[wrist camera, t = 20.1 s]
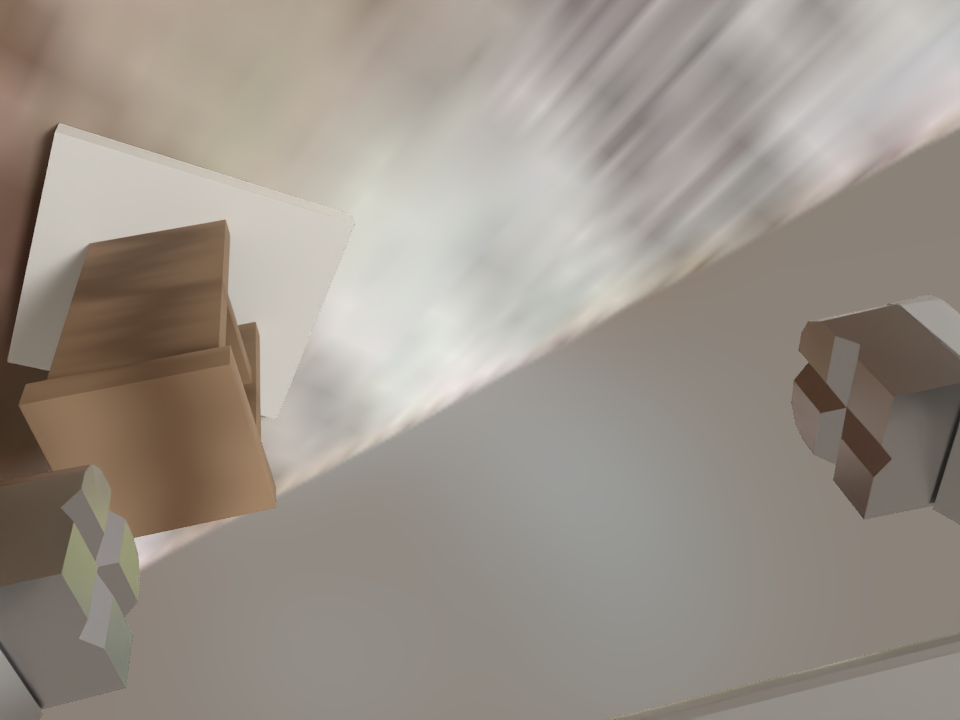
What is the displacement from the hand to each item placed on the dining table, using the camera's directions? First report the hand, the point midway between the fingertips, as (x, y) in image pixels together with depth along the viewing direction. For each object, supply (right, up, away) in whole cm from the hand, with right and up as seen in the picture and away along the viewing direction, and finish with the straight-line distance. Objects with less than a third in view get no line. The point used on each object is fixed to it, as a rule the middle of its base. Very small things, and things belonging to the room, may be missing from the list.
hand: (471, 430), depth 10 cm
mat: (-14, +4, +32) cm, 35 cm away
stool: (-14, +4, +31) cm, 35 cm away
